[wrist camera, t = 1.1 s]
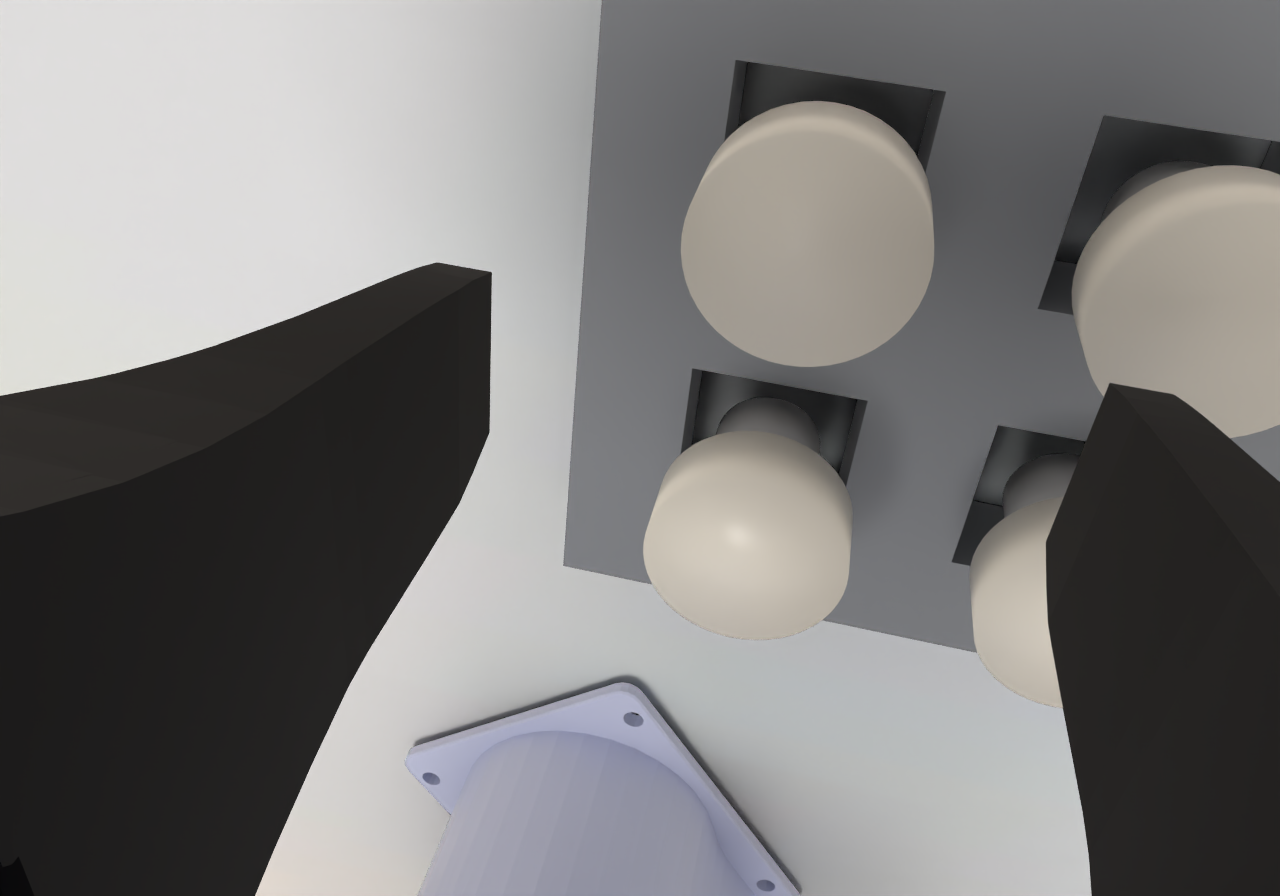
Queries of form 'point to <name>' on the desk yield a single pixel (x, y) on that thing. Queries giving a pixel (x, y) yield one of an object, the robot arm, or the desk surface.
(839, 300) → the button
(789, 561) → the button
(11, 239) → the desk surface
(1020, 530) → the button
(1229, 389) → the button
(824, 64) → the board
